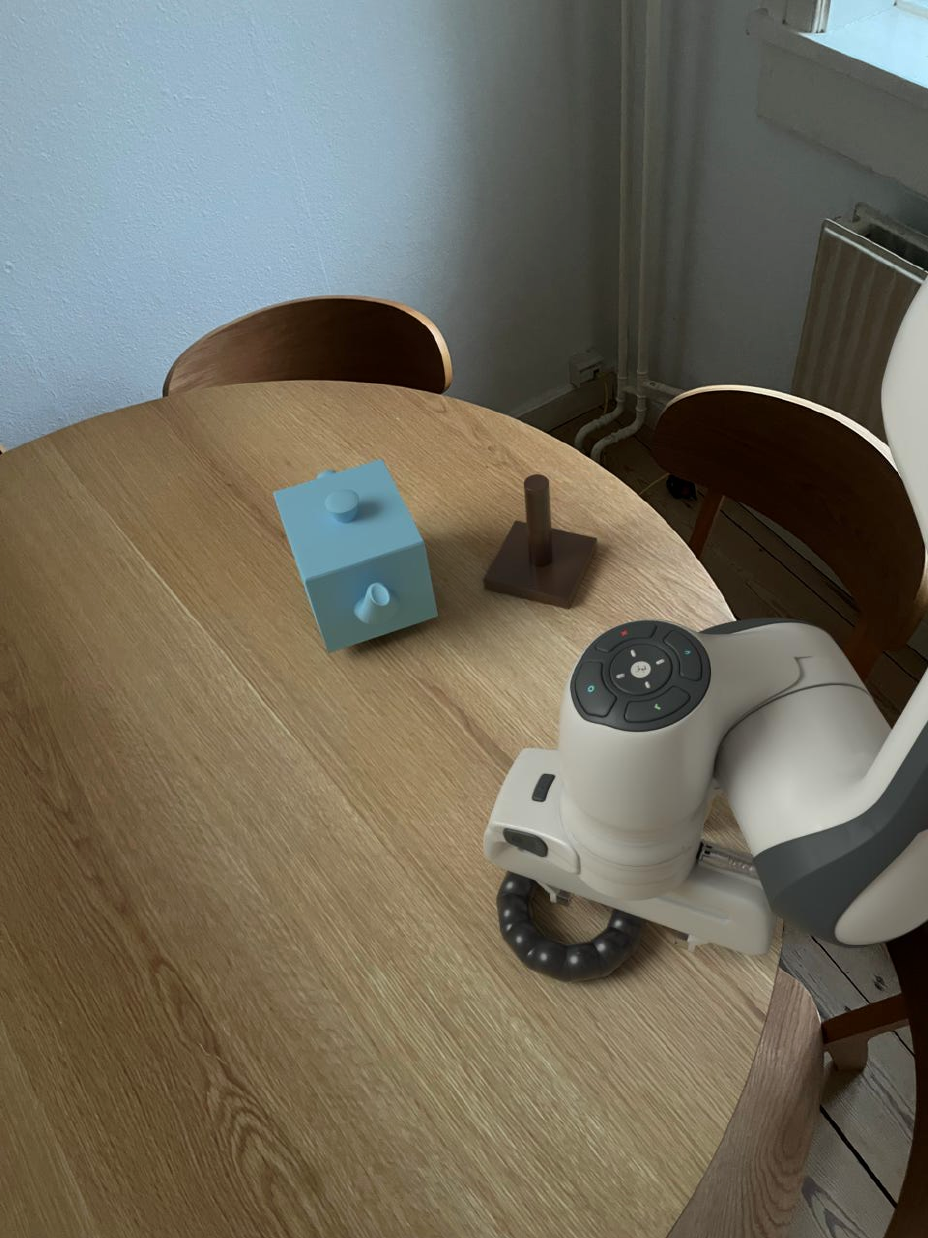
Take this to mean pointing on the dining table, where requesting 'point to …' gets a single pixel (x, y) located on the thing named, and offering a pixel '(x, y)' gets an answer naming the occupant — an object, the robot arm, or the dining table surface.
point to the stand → (540, 554)
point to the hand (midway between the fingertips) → (624, 918)
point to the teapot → (357, 554)
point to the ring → (554, 954)
